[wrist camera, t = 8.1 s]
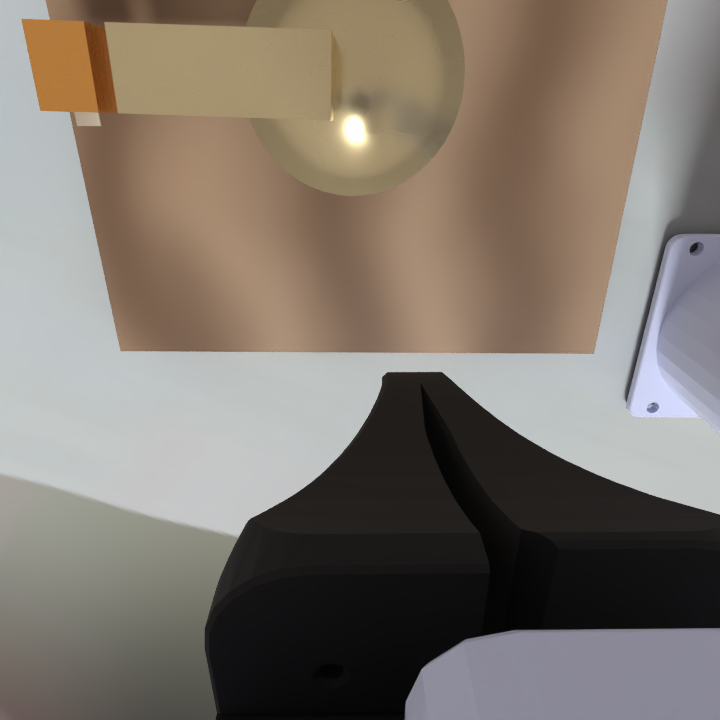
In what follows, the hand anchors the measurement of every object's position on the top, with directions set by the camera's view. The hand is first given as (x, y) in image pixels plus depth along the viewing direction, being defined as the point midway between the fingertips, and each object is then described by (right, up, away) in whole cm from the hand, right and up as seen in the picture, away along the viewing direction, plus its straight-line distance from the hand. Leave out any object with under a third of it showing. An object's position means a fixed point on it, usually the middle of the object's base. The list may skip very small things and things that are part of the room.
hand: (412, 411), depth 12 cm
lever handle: (-4, +9, +3) cm, 11 cm away
